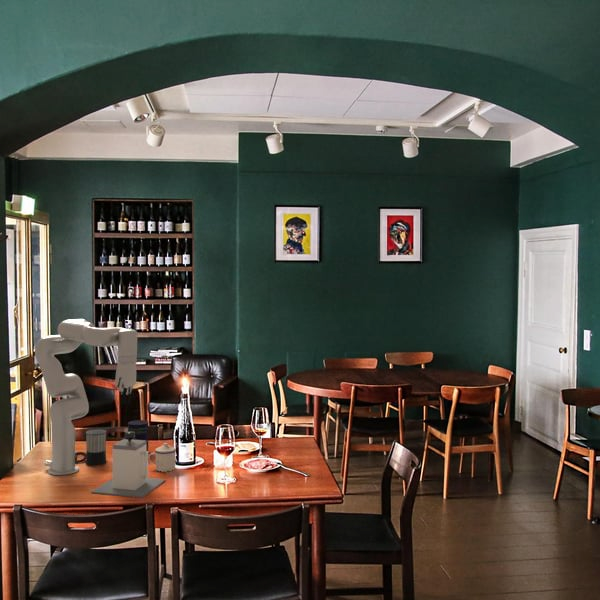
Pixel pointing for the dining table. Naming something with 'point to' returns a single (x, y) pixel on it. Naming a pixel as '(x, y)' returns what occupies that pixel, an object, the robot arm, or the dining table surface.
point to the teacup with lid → (164, 458)
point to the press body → (129, 464)
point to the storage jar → (139, 430)
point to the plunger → (130, 436)
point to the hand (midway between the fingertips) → (125, 403)
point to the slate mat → (140, 492)
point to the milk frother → (94, 448)
